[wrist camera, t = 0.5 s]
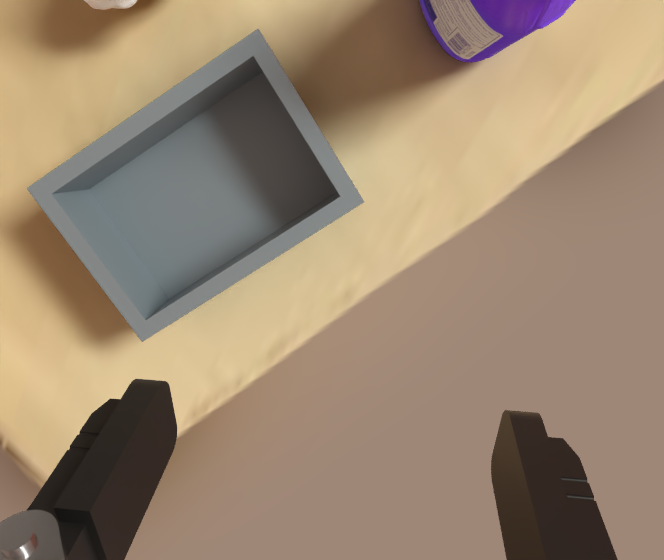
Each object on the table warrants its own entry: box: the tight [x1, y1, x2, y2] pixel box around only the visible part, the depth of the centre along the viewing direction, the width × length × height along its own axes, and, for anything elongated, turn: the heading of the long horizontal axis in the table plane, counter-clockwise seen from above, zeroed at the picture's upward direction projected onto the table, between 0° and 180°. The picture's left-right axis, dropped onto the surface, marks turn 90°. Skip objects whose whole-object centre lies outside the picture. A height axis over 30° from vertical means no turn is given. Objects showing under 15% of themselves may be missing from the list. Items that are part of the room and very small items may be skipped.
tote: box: [27, 29, 364, 342], centre depth 33 cm, size 11×16×6 cm
